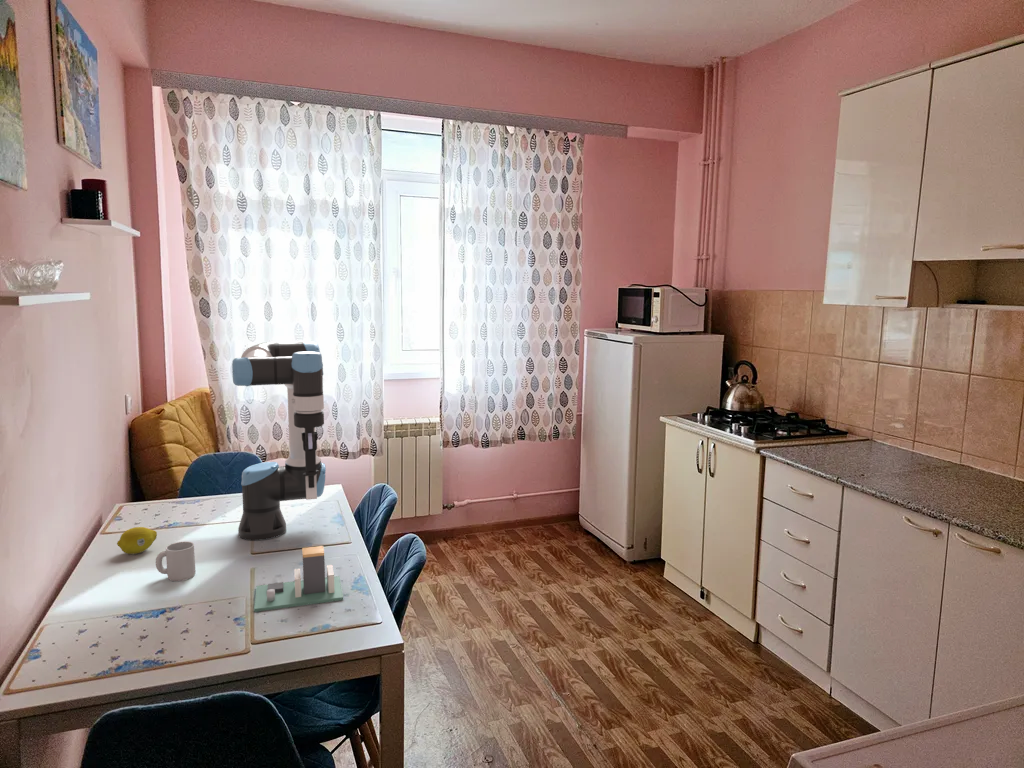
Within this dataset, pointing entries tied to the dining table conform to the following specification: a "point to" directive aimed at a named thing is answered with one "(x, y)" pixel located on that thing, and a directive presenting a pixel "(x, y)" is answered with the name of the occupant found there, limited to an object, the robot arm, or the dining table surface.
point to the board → (296, 593)
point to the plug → (313, 569)
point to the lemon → (136, 540)
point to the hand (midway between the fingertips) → (311, 498)
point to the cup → (178, 561)
